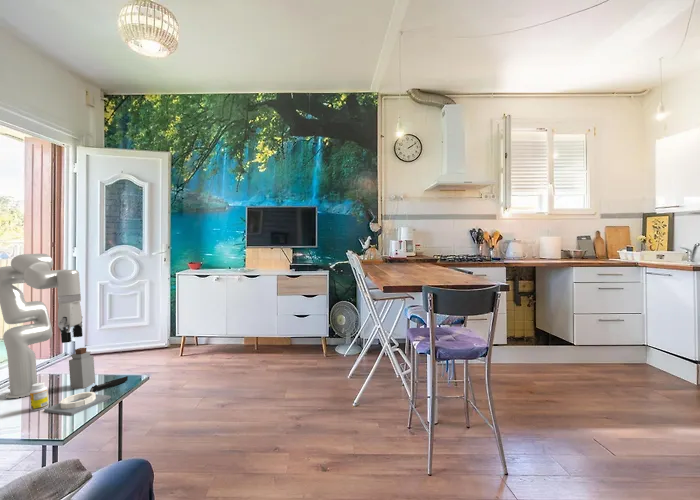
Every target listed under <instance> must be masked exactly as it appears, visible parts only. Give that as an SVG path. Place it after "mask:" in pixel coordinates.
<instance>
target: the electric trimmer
mask: <svg viewBox="0 0 700 500" xmlns="http://www.w3.org/2000/svg"><path fill="white" fill-rule="evenodd" d="M128 378H129V376H128V375H126V376H124V377H120V378H116V379H113V380H110V381H107V382H103V383H101V384H98V385H97V384H95V385H93V386H92V385H91V388H90V390H89V392H95V393H97V392H99V391H102V390H105V389H108V388H112V386H113V387H116V386H119V385H121V384H123V383H126V382H127V381H128ZM125 381H126V382H125ZM118 384H119V385H118Z"/></svg>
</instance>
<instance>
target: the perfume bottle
mask: <svg viewBox="0 0 700 500" xmlns="http://www.w3.org/2000/svg"><path fill="white" fill-rule="evenodd" d="M74 352H75V353H73V354H71V355H70V356H71V358H72V359H69V360H68V366H69V367H68V368H69V369H68V370H69V371H68V372H69V382H70V389H72V390H73V389H74V390H75V389H76V390H77V389H85V388H88V387H89V386H92V385H94V384H96V373H95V359H94V355H91V351H87V347H79V348H76V349H74ZM93 383H94V384H93Z"/></svg>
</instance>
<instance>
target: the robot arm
mask: <svg viewBox="0 0 700 500" xmlns="http://www.w3.org/2000/svg"><path fill="white" fill-rule="evenodd" d="M53 267H54V260H53V258H52V257H51V256H50V255H49V254H47V253H23V254H18V255H16V256H14V257H13V258H12V259H11V261H10V265H7V266H5V265H4V266H0V311H1V314H2V318H3V321H4V323H5V324H7V325H17V326H14V327H11V328H9V329H7V330H5V332H4V333H3V335H2V340H3V343H4V346H5V351H6V355H7V366H8V382H9V383H8V384H9V386H8V387H7V389H8V390H9V392H8V393H7V394H5V398H6V397H7V398H16V399H20V398H19V397H21V398H25V396H26V397H30V391H31V390H32V385H33V384H36V383H38V373H37V360H36V358H37V357H36V352H35V351H34V350H33V349H31V348H30V347H29V346H32V345H34V344H38V343H39V344H40V343H42V342H46V341H49V340H50V339H52V336H53V327H52V323H51V318H50V314H49V310H48V307H47V305H46V304H45V303H44V302H42V301H41V300H33V301H26V300H25V295H24V293H23V292H22V290H21V289H19V287H17V286H15V284H26V285H27V286H28V287H31V288H32V289H36V290H47V289H55V288H56V289H57V302H58V308H57V327H58V328H59V332H60V339H61V344H66V343H71V342H72V335H73V338H80V337H83V334H84V333H83V324H82V323H83V316H82V314H83V313H82V306H81V302H82V296H81V294H82V293H81V281H80V272H79V270H77V269H55V270H54V269H53V270H52V268H53ZM30 322H33V323H30ZM24 323H29V324H25V325H24ZM18 324H23V325H19V326H18ZM72 327H73V328H72ZM71 328H72V332H73V334H72V332H71ZM7 398H6V399H7Z"/></svg>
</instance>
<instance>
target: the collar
mask: <svg viewBox="0 0 700 500" xmlns="http://www.w3.org/2000/svg"><path fill="white" fill-rule="evenodd" d="M111 398H112V396H111V395H106V394H96V392H90V391H83V392H79V393H76V394H72V395H69V396H67V397H65V398H63V399H62V400H59V403H57V404H54V405H51V406H48V407H46V408H44V409H43V410H44V412H45V413H51V414H59V415H67V416H68V415H69V416H74V415H76V414H79V413H80V412H83V411H84V410H87V409H90V408H91V407H94V406H97V405H99V404H101V403H103V402H105V401H108V400H110V399H111Z"/></svg>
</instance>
